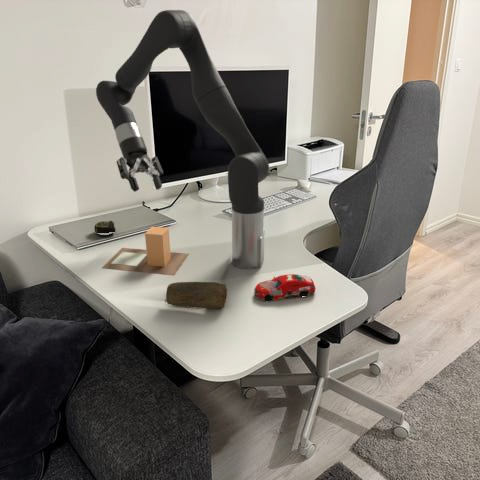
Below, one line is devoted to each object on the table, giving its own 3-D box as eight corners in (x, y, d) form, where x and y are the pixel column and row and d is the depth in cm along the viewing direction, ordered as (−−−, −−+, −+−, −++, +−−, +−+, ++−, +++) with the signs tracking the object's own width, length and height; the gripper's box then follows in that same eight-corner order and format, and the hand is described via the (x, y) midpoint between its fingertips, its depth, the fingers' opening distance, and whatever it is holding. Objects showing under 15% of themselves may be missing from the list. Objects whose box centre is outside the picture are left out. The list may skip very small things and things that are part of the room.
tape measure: (116, 236, 157) (115, 226, 155) (95, 239, 155) (94, 228, 153) (115, 229, 162) (113, 219, 161) (95, 231, 161) (93, 221, 159)
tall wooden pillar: (170, 258, 137) (168, 228, 133) (164, 266, 133) (162, 235, 129) (154, 257, 138) (151, 226, 134) (147, 265, 134) (144, 233, 129)
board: (189, 258, 141) (188, 232, 138) (174, 280, 129) (172, 252, 125) (122, 251, 145) (119, 227, 142) (102, 272, 133) (98, 245, 129)
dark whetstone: (227, 298, 120) (227, 275, 117) (226, 313, 114) (226, 289, 111) (170, 297, 120) (168, 275, 117) (166, 312, 114) (164, 289, 111)
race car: (257, 304, 118) (257, 287, 116) (251, 291, 124) (251, 275, 122) (317, 297, 120) (318, 281, 118) (309, 285, 126) (310, 269, 124)
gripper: (117, 134, 133) (135, 186, 131) (155, 135, 143) (173, 182, 141) (104, 147, 138) (122, 196, 136) (143, 146, 148) (159, 192, 146)
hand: (148, 189), depth 139 cm, fingers open, 8 cm apart
